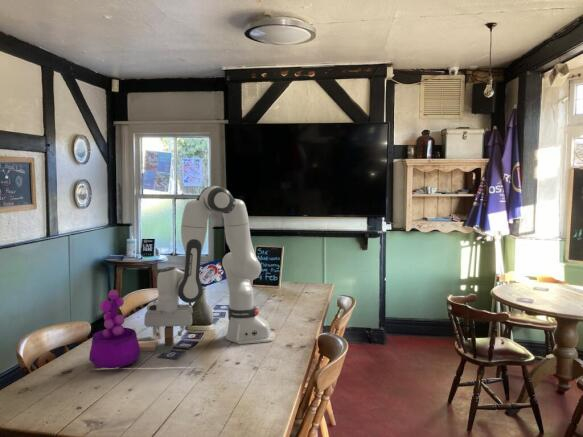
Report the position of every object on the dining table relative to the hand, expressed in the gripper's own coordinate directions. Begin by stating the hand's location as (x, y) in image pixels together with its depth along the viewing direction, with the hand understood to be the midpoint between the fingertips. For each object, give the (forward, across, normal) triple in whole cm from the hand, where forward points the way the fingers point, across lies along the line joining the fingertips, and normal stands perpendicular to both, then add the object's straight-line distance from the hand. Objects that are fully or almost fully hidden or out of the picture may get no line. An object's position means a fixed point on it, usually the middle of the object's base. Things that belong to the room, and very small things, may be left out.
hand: (168, 335), depth 209 cm
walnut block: (+4, 0, 0) cm, 4 cm away
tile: (+3, +5, +4) cm, 7 cm away
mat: (+5, +7, +4) cm, 9 cm away
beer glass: (+5, +7, -10) cm, 13 cm away
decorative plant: (+5, +17, +20) cm, 26 cm away
